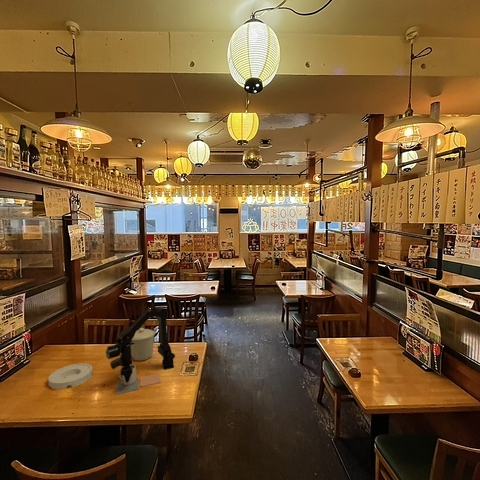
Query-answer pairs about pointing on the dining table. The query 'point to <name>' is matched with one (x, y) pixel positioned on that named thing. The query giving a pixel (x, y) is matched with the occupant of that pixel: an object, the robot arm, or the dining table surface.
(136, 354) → the canister
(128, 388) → the tile
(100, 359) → the dining table surface
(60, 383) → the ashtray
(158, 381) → the coaster pad
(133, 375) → the cup
